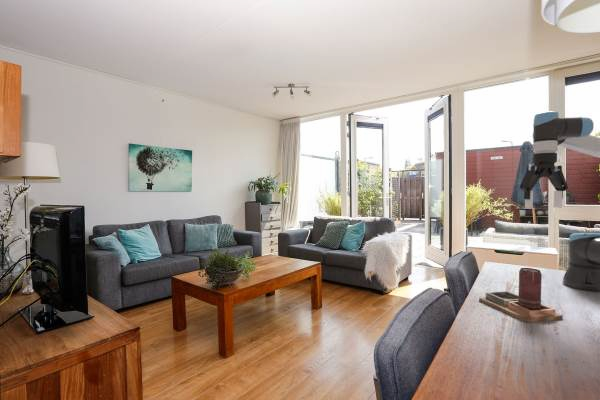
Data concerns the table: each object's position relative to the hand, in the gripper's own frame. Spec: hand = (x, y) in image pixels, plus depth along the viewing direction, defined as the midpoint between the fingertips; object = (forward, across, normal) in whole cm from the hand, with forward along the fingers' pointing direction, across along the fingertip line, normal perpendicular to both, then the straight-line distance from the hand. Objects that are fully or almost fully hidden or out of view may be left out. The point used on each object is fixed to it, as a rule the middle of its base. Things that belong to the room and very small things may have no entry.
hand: (543, 207), depth 125 cm
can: (+34, +21, +14) cm, 42 cm away
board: (+35, +21, +10) cm, 42 cm away
